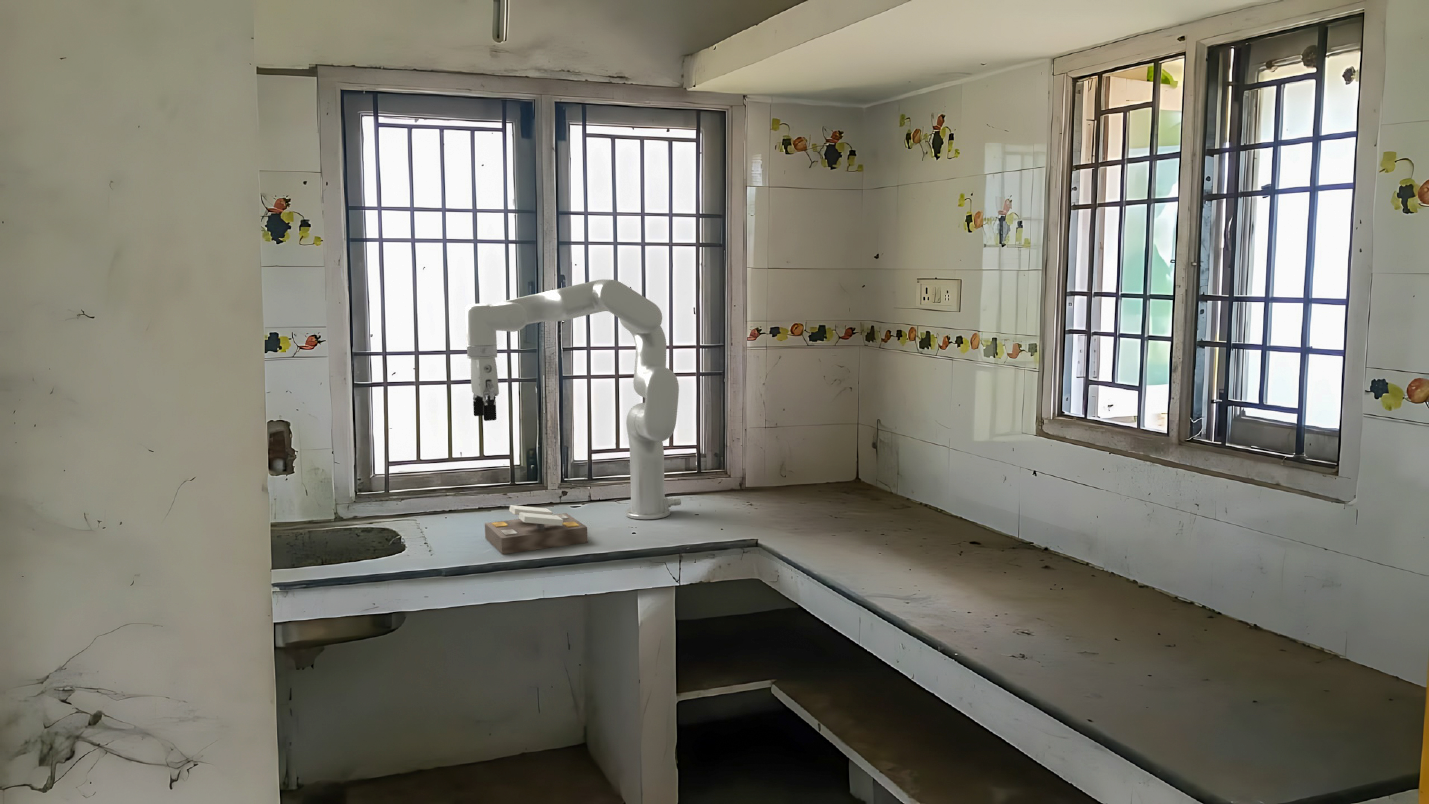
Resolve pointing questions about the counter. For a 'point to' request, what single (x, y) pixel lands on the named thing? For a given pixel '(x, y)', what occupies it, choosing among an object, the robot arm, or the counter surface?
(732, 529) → the counter surface
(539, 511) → the rocker far
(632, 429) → the robot arm
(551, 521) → the rocker near
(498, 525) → the switch unit
